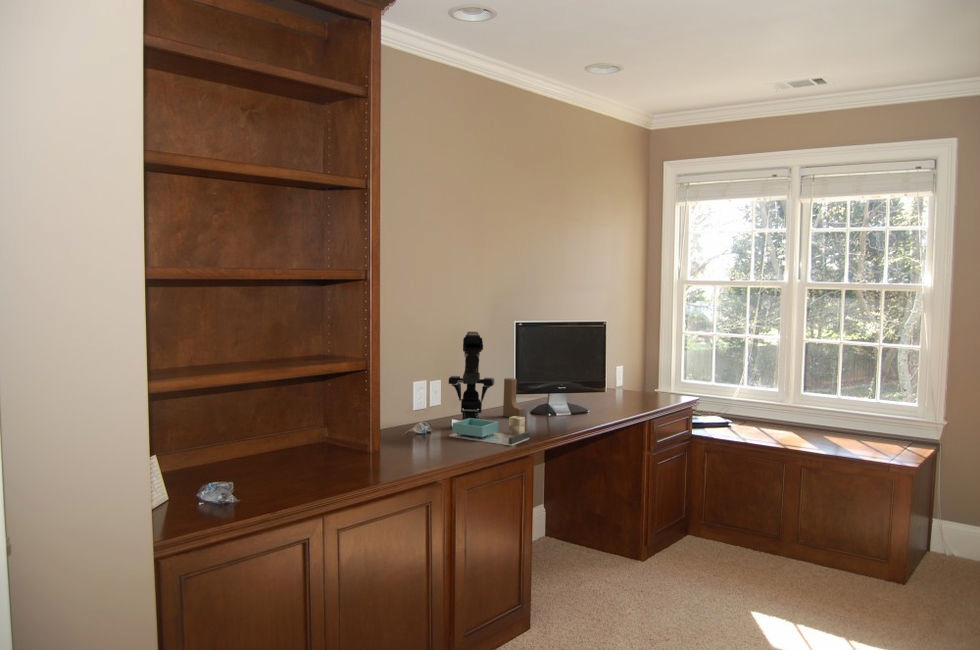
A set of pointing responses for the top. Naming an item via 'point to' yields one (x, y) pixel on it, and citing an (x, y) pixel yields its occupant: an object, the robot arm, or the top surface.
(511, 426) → the part
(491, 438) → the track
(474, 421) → the teal storage bin
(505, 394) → the wooden block
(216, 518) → the top surface
